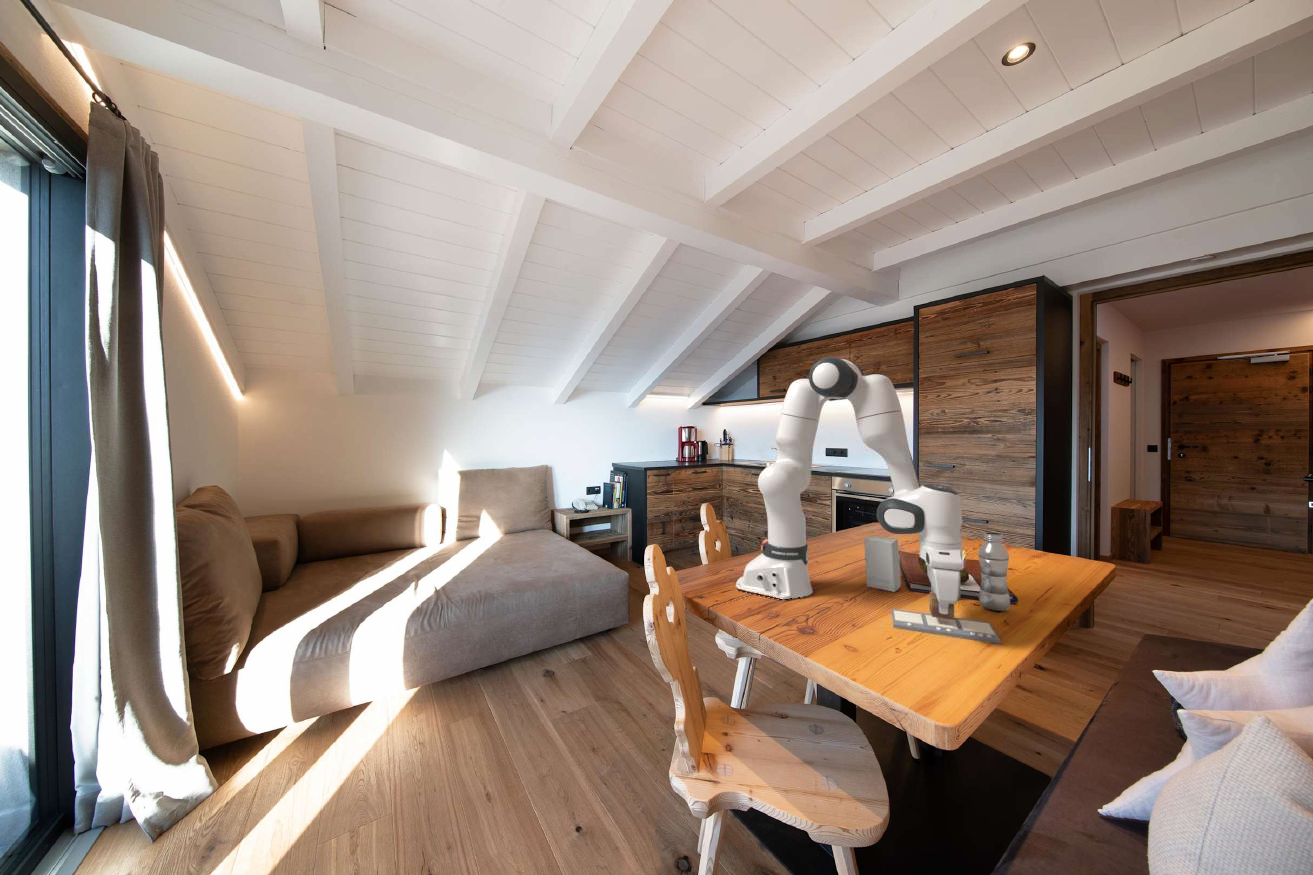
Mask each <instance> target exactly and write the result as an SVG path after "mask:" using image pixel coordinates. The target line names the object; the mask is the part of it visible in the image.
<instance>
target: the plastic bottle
mask: <svg viewBox="0 0 1313 875" xmlns="http://www.w3.org/2000/svg"><path fill="white" fill-rule="evenodd" d="M983 540H984V543H982V545H981V546H980V547H979V548H978V550H977V555H978V561H979V565H980V575H981V576H980V578H981V579H980V588H979V591H978V592H979V593H978V600H979V603H980V604H981V606H982V607H983V608H984V609H985V608H986V609H988V610H991V611H999V612H1005V611H1008V610H1009V609H1010V607H1011V606H1010V605H1011V597H1010V593H1009V588H1008V583H1007V582H1008V579H1007V578H1008V567H1009V561H1010V560H1009V559H1010V553H1009V551H1008V550H1007V548H1006V547H1005V546H1004V545H1003V541H1004V540H1003V533H1000V532H995V531H994V532H993V531H991V532H989V531H988V532H987V531H986V532H984V539H983Z"/></svg>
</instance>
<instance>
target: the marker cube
mask: <svg viewBox="0 0 1313 875" xmlns="http://www.w3.org/2000/svg"><path fill="white" fill-rule="evenodd" d="M938 604H939V601H938V599H937V596H936V594H935V593H934V592H931V591H930V592H929V612H930V614H931V615H932V617H936V618H944V619H951V620H954V617H955V604H950V603H949V606H948V614H941V613H940V612H939V610H938Z"/></svg>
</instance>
